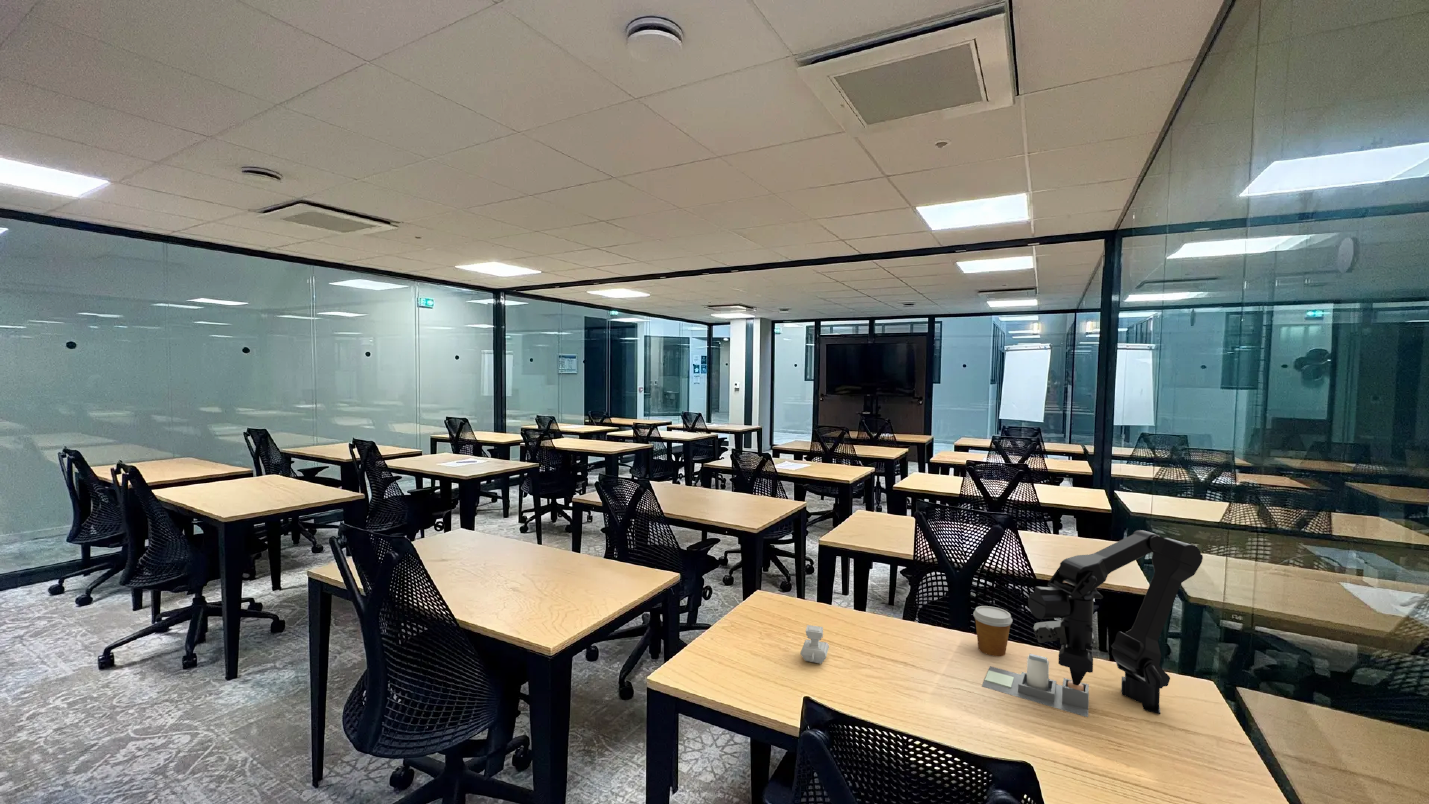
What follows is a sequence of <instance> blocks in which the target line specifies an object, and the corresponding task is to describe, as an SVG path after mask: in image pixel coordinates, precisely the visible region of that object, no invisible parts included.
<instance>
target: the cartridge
mask: <svg viewBox="0 0 1429 804" xmlns="http://www.w3.org/2000/svg"><path fill="white" fill-rule="evenodd" d="M1026 659H1027V660H1026V664H1027V665H1026V673H1027V686H1031V687H1035V688H1038V689H1042V690H1045V691H1048V680H1049V679H1050V677H1049V676H1050V675H1049V673H1050V671H1049V670H1050V662H1049V660H1048V657H1046V656H1042V655H1037V654H1033V653H1028V656H1027V657H1026Z"/></svg>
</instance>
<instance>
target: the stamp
mask: <svg viewBox="0 0 1429 804" xmlns="http://www.w3.org/2000/svg"><path fill="white" fill-rule="evenodd" d="M805 635H806V638H807V639H805V640H804V643H803V645H802V648H801V650H800V655H801V657H802V659H803V660H804V661H805V662H811V663H817V664H820V665H821V664H823V662H824V661H825V660H826V659H827V655H828V651H829V648H830V646H829V643H828V642H826V641H825V642H824V641H821V640H822V638H823V637H824V627H823V626H817V625H811V624H810V625H809V624H807V625H806V628H805ZM823 639H824V638H823Z"/></svg>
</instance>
